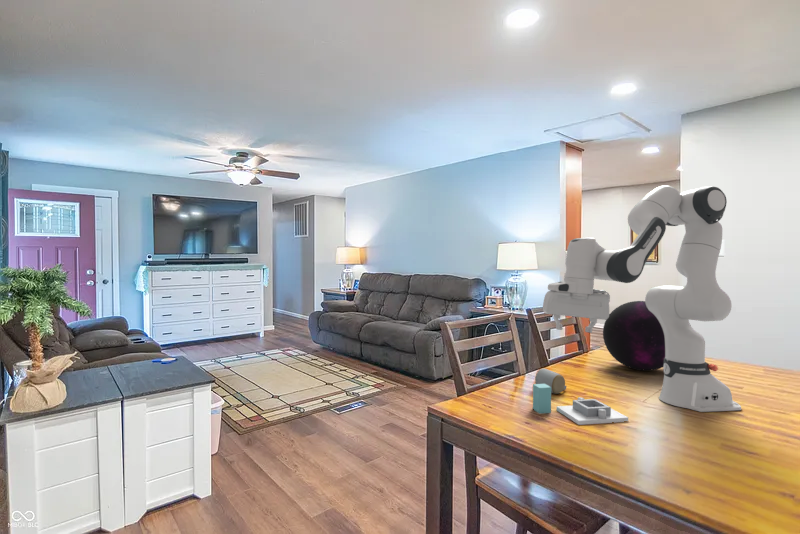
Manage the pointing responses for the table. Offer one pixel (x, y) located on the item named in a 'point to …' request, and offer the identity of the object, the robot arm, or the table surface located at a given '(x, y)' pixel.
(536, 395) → the block
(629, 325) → the black purple ball
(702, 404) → the robot arm
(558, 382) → the ceramic mug
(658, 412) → the table surface
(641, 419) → the table surface
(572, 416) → the housing plate
